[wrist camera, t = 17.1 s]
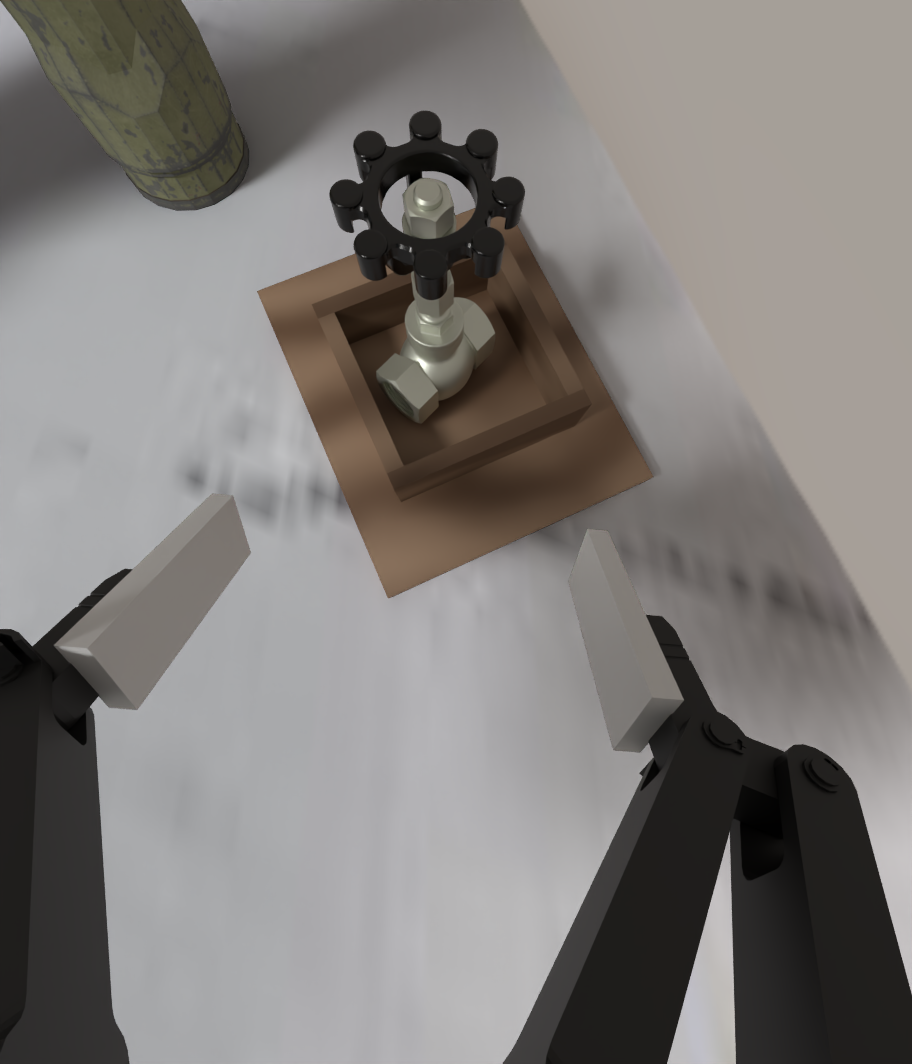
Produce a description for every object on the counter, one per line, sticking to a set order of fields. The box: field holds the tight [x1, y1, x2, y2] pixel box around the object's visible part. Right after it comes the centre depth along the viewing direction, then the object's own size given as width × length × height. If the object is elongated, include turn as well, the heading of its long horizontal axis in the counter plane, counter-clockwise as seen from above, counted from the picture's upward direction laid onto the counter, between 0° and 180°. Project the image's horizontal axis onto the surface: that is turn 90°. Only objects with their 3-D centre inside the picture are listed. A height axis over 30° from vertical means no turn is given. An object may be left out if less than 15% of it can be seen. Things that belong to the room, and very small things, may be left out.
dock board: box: [257, 208, 653, 598], centre depth 24 cm, size 22×18×4 cm
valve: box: [330, 111, 525, 424], centre depth 19 cm, size 7×7×12 cm
